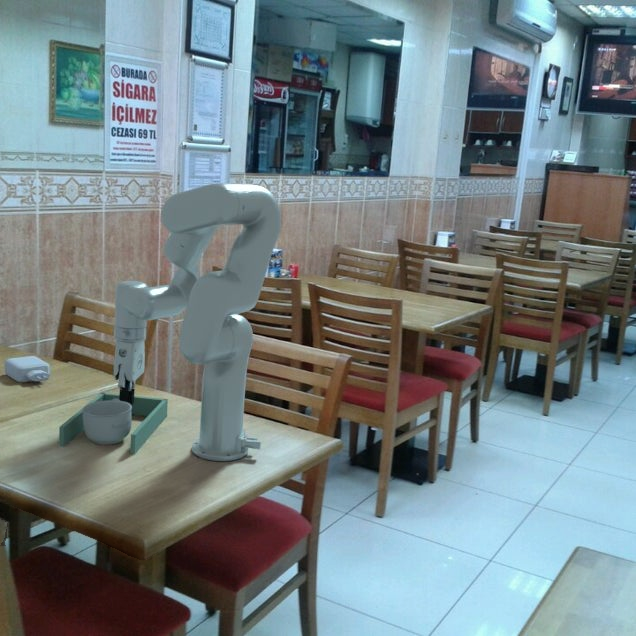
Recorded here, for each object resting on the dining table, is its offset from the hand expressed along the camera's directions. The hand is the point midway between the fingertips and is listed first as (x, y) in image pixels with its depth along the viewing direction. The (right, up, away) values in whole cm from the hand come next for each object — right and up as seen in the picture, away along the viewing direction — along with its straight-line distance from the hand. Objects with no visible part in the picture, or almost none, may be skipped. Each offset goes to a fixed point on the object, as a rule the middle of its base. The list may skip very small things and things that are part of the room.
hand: (126, 404), depth 185 cm
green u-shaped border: (0, -5, -8) cm, 9 cm away
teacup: (-1, -6, -12) cm, 14 cm away
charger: (-33, +4, +25) cm, 41 cm away
